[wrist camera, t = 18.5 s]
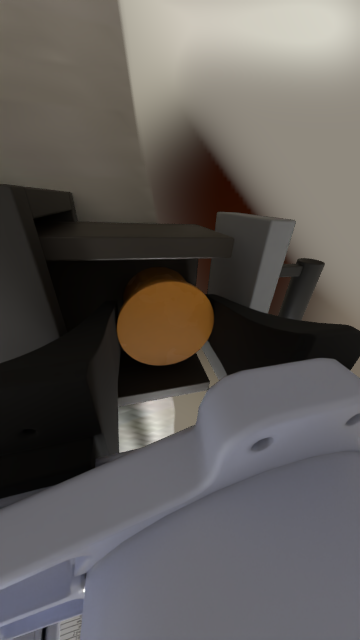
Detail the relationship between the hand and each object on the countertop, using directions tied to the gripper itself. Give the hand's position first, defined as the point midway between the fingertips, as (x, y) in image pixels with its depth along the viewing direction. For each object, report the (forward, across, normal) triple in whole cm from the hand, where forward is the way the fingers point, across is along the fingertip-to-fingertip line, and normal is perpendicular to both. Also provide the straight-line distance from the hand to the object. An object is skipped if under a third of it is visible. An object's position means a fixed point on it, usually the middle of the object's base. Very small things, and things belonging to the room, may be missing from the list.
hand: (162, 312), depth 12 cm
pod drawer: (+3, -1, 0) cm, 3 cm away
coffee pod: (+2, 0, 0) cm, 2 cm away
